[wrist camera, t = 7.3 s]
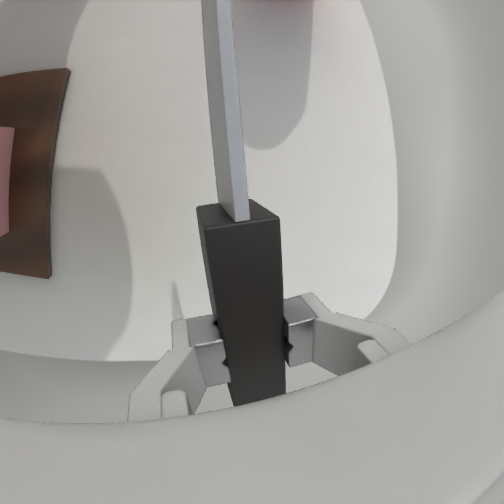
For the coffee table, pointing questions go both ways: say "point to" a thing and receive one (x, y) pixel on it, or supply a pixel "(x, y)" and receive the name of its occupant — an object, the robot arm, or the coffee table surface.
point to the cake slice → (5, 176)
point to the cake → (30, 166)
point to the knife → (239, 234)
